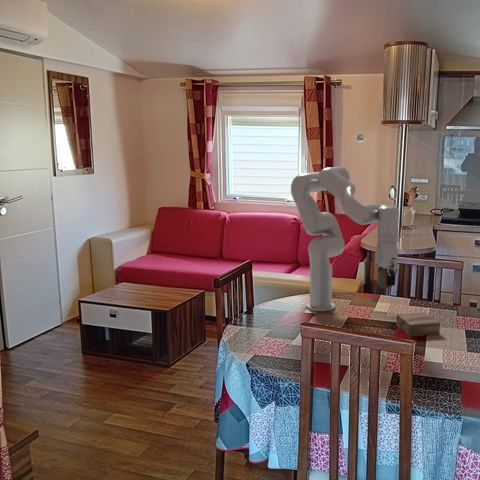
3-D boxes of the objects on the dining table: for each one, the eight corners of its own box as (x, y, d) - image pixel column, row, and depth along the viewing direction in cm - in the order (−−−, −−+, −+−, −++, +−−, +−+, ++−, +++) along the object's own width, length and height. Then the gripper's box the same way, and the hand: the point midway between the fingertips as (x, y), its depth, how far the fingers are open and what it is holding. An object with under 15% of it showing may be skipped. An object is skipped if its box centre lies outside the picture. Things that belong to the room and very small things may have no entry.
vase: (395, 289, 208) (396, 267, 206) (377, 289, 210) (377, 267, 208) (394, 285, 215) (395, 263, 213) (376, 284, 216) (377, 262, 214)
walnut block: (396, 326, 217) (396, 314, 216) (424, 324, 219) (425, 312, 218) (409, 337, 205) (410, 324, 204) (439, 335, 207) (440, 322, 206)
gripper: (368, 234, 216) (367, 278, 219) (389, 243, 199) (388, 289, 203) (385, 233, 217) (384, 276, 221) (408, 241, 201) (406, 288, 204)
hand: (386, 282), depth 212 cm, fingers closed on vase, 6 cm apart
